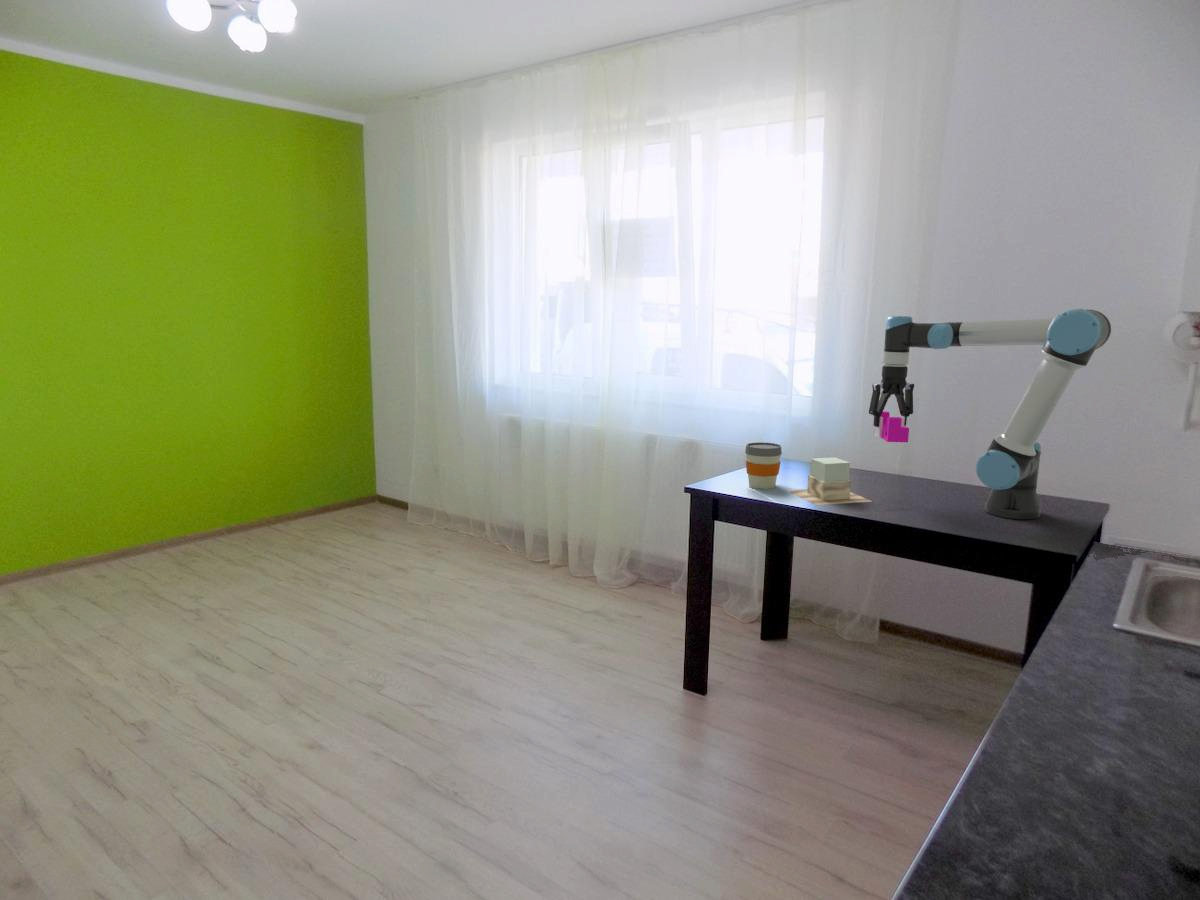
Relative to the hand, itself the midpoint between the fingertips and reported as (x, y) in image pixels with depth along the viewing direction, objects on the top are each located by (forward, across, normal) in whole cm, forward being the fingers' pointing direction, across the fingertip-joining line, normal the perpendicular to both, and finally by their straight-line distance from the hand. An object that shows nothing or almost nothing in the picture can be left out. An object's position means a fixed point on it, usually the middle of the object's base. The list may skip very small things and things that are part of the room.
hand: (888, 436), depth 243 cm
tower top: (+15, +15, -8) cm, 23 cm away
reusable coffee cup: (+23, +31, -27) cm, 46 cm away
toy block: (0, 0, +1) cm, 1 cm away
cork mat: (+22, +15, -8) cm, 28 cm away
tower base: (+21, +15, -8) cm, 27 cm away
